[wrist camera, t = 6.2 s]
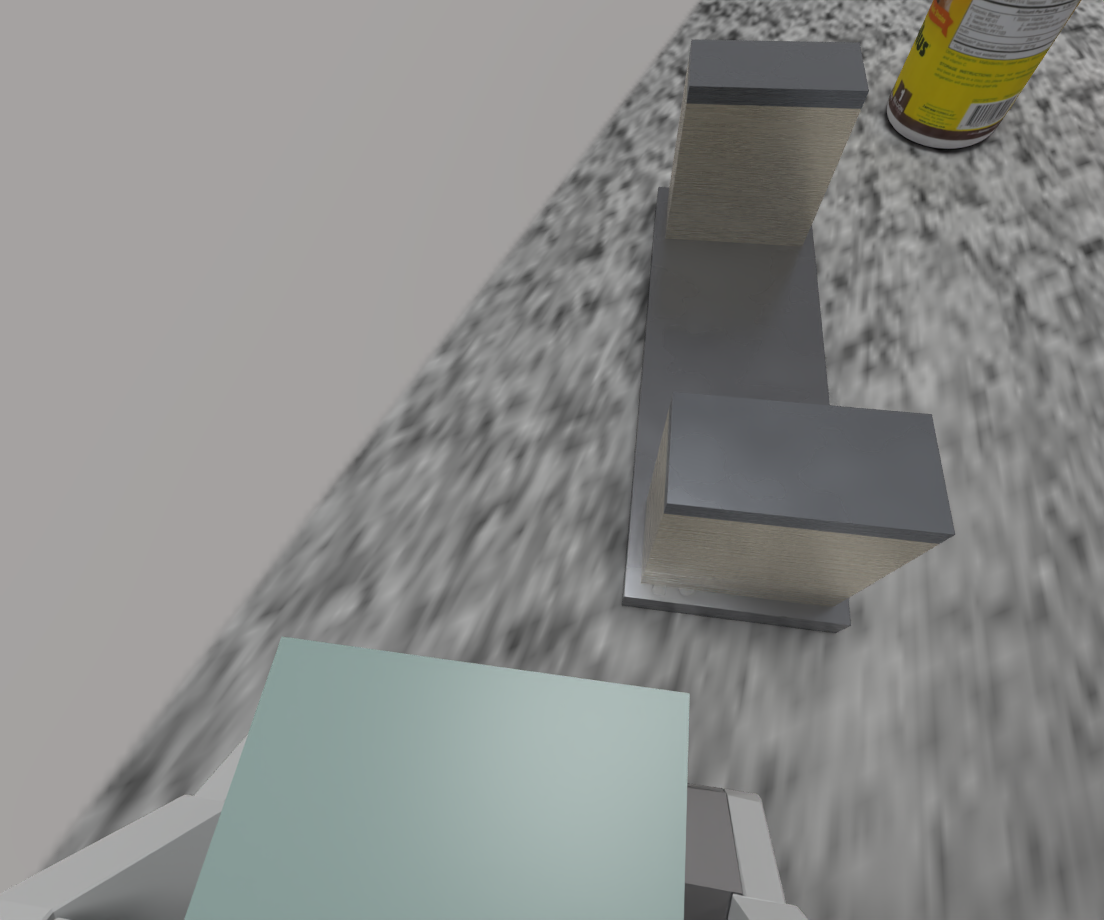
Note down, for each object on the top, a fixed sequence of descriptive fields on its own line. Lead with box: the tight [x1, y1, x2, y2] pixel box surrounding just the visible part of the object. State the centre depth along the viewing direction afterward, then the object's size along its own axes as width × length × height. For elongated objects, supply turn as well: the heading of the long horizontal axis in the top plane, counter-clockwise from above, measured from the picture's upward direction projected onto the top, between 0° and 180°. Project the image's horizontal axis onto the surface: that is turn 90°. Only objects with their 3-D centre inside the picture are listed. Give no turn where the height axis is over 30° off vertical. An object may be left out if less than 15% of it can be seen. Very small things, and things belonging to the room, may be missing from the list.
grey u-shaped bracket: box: [622, 40, 955, 633], centre depth 20 cm, size 7×20×8 cm, turn 172°
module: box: [184, 637, 690, 920], centre depth 9 cm, size 5×4×8 cm
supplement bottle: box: [887, 0, 1081, 149], centre depth 26 cm, size 6×6×10 cm
